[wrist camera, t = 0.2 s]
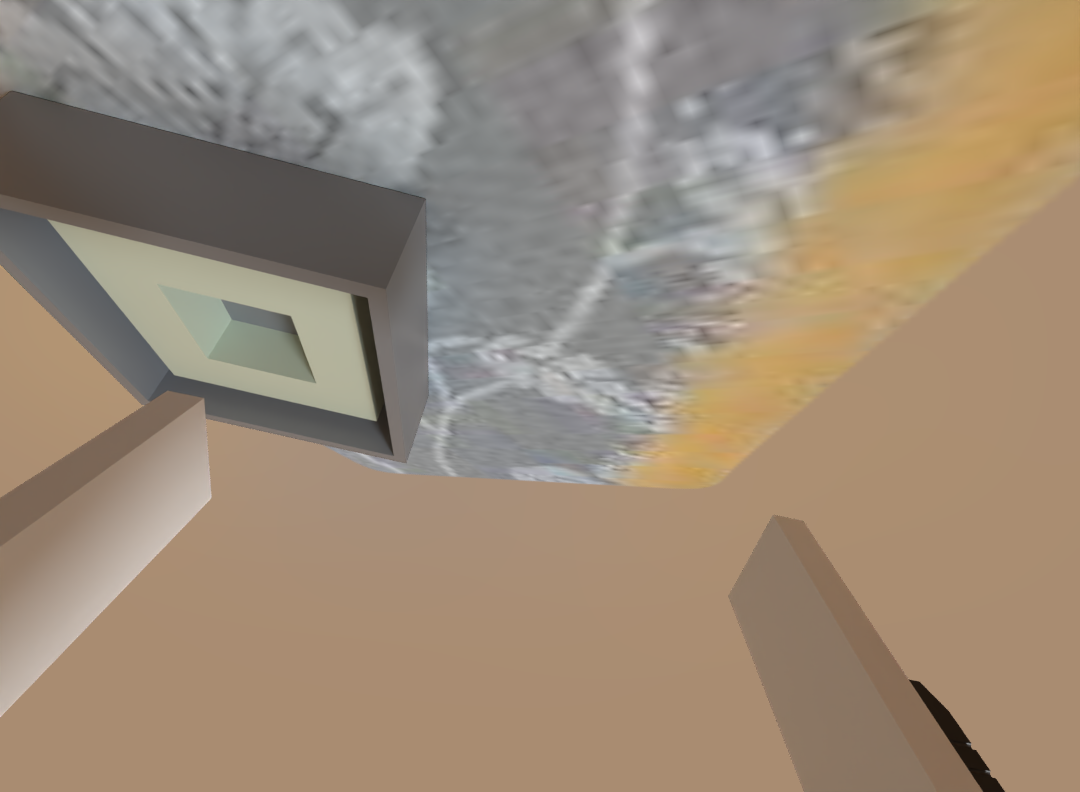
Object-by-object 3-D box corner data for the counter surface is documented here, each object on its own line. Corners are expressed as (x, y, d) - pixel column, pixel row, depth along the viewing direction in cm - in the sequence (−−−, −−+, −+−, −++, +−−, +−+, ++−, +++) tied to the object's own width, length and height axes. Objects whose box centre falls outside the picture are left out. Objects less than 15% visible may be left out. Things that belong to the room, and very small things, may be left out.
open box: (11, 90, 21) (-96, 170, 18) (425, 198, 23) (385, 289, 20) (185, 338, 36) (141, 404, 33) (428, 395, 38) (406, 463, 35)
